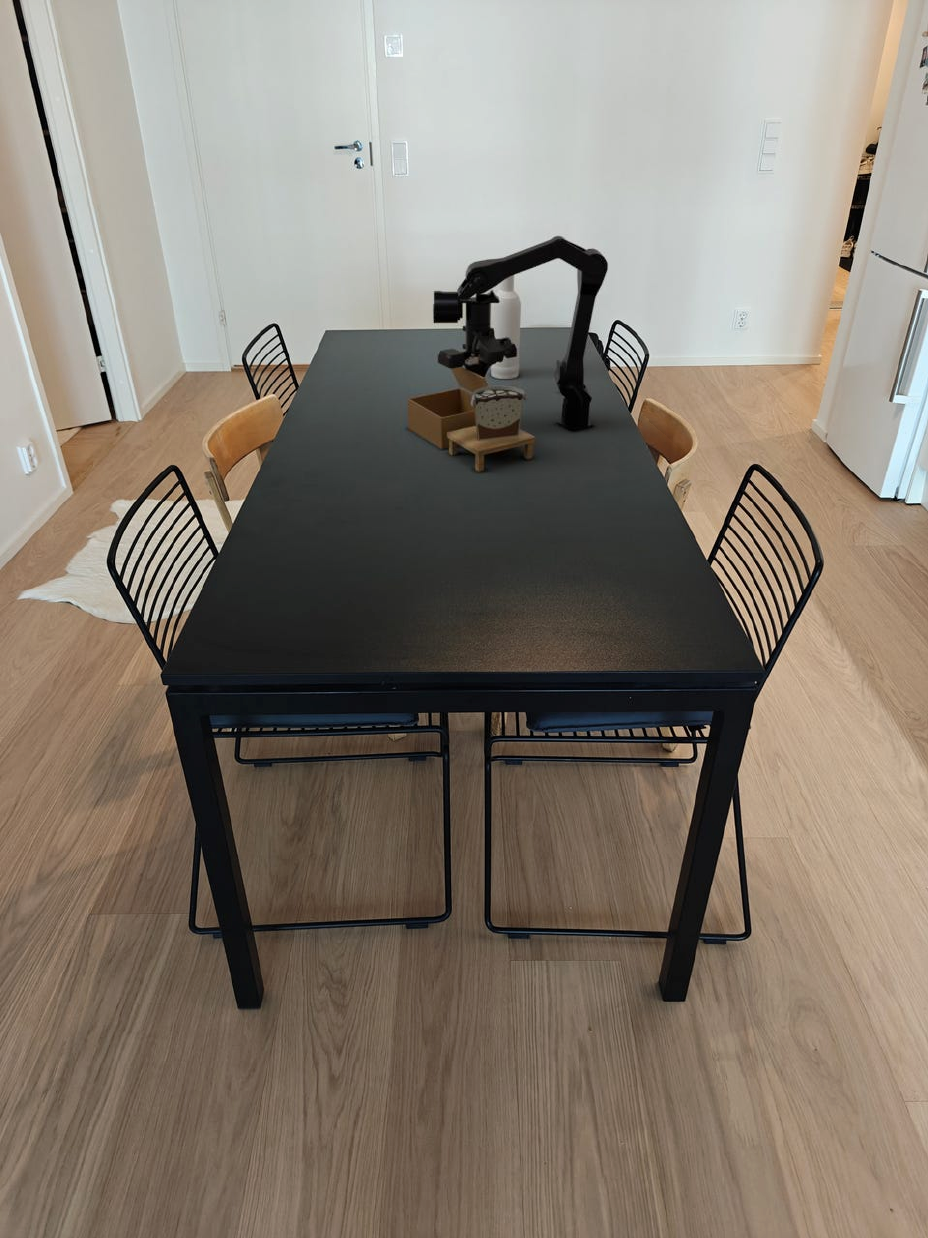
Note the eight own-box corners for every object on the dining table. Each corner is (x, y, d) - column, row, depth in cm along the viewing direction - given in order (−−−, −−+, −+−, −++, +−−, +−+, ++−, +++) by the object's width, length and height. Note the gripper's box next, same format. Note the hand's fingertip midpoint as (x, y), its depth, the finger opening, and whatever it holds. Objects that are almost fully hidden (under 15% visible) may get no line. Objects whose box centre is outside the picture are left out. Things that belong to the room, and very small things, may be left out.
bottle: (516, 380, 234) (520, 265, 217) (488, 378, 235) (490, 264, 218) (520, 371, 240) (524, 259, 224) (493, 370, 242) (495, 258, 225)
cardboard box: (460, 417, 209) (460, 387, 205) (495, 436, 198) (495, 406, 194) (408, 428, 203) (407, 398, 199) (441, 449, 192) (441, 418, 188)
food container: (515, 426, 190) (517, 382, 184) (525, 435, 185) (526, 390, 180) (463, 431, 187) (463, 387, 182) (471, 441, 182) (472, 396, 177)
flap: (459, 385, 205) (460, 384, 205) (495, 403, 194) (496, 402, 194) (447, 361, 200) (448, 360, 200) (483, 378, 189) (484, 377, 189)
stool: (534, 458, 187) (535, 437, 184) (478, 472, 180) (478, 450, 178) (501, 440, 196) (502, 419, 194) (447, 453, 190) (446, 432, 187)
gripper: (461, 336, 180) (462, 407, 189) (532, 324, 189) (529, 392, 197) (435, 325, 188) (437, 393, 197) (504, 314, 197) (502, 380, 205)
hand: (477, 390), depth 199 cm, fingers closed
